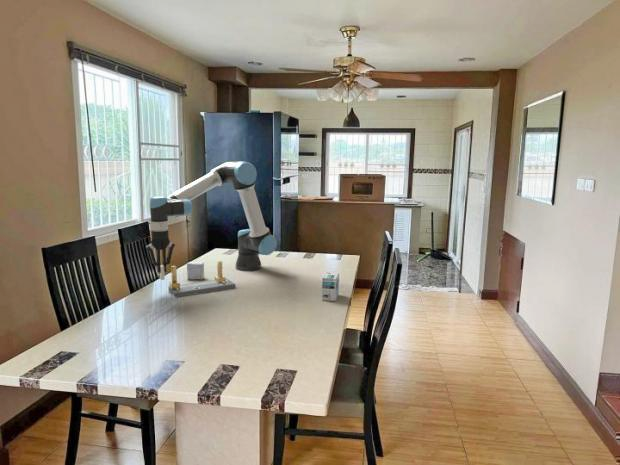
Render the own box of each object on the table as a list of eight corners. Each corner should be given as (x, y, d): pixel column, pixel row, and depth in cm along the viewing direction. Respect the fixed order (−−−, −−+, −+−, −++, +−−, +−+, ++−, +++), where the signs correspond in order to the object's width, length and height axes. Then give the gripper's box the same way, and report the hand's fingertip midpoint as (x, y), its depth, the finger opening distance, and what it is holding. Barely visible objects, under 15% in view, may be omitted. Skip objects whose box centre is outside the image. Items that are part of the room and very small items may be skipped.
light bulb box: (335, 301, 202) (336, 278, 200) (321, 300, 203) (321, 277, 201) (339, 294, 212) (339, 272, 210) (325, 293, 214) (325, 272, 212)
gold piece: (177, 285, 216) (176, 264, 214) (182, 290, 208) (181, 268, 207) (169, 286, 214) (168, 265, 212) (173, 291, 206) (173, 269, 204)
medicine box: (204, 277, 238) (204, 262, 237) (201, 280, 234) (201, 264, 232) (190, 277, 239) (189, 261, 238) (187, 279, 235) (186, 263, 233)
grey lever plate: (226, 281, 231) (226, 258, 229) (235, 287, 221) (235, 263, 219) (168, 290, 215) (167, 265, 213) (174, 297, 205) (173, 271, 203)
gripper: (146, 232, 198) (149, 282, 203) (176, 230, 205) (178, 279, 209) (143, 229, 205) (146, 279, 209) (171, 227, 211) (174, 275, 216)
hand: (162, 279), depth 209 cm, fingers closed
